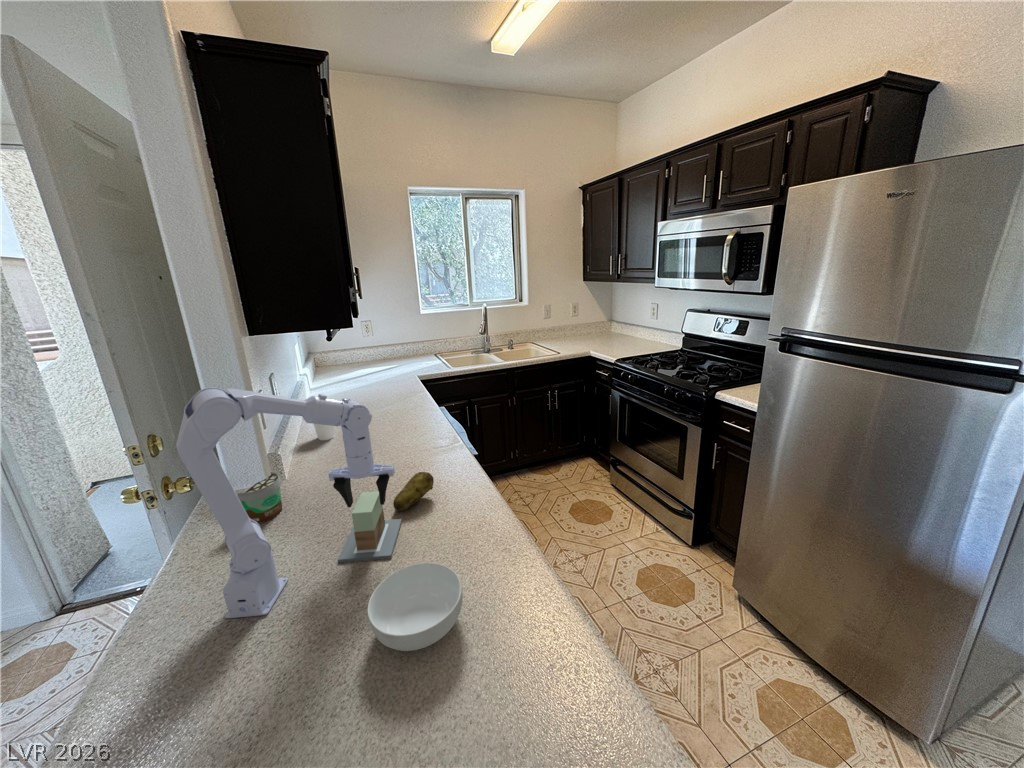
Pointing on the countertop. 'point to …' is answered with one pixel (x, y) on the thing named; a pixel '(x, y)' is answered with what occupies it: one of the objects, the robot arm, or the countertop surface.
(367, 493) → the green brick
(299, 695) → the countertop surface
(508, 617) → the countertop surface
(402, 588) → the cereal bowl
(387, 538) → the board
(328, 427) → the foam cup
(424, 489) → the potato
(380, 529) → the walnut brick
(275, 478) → the food container
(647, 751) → the countertop surface
